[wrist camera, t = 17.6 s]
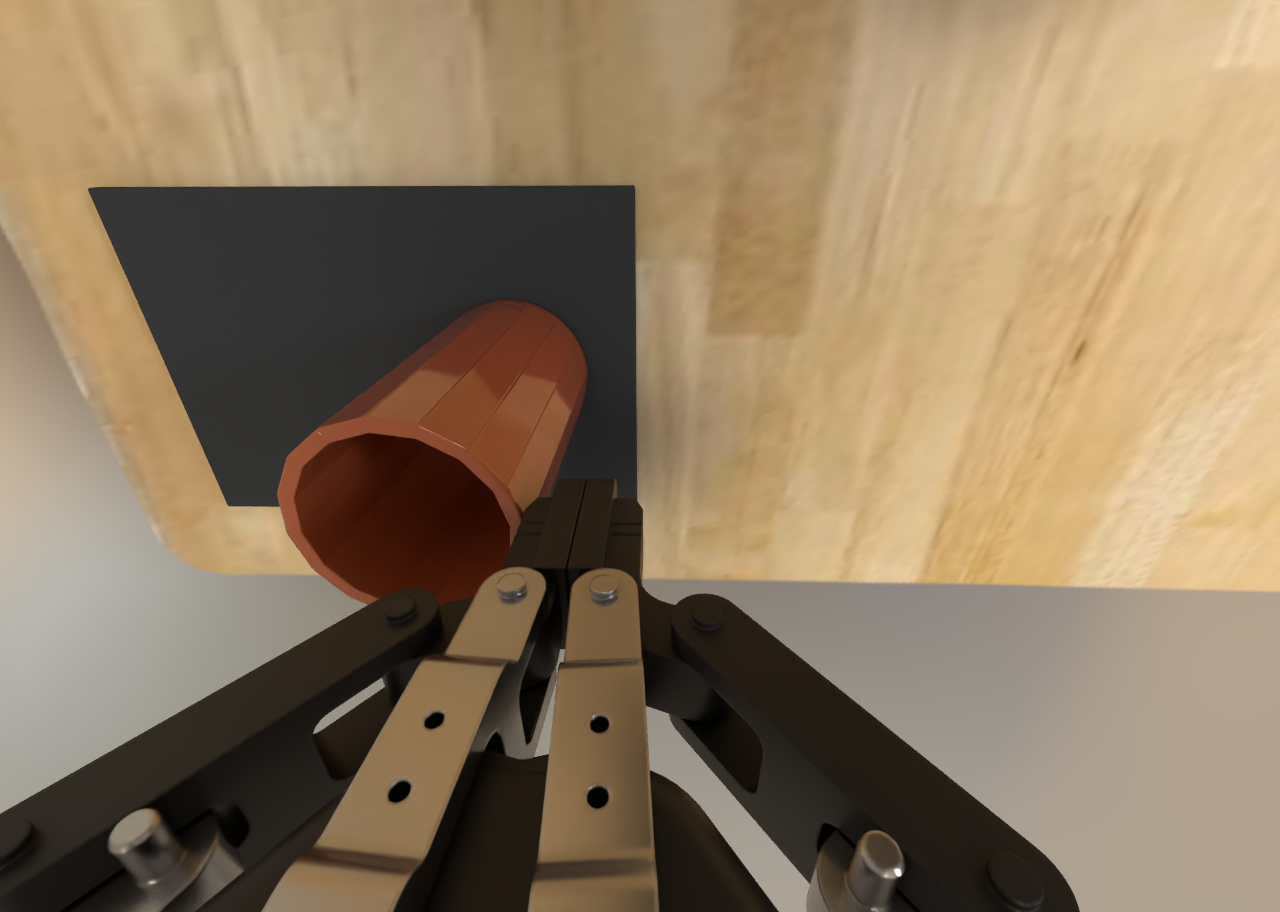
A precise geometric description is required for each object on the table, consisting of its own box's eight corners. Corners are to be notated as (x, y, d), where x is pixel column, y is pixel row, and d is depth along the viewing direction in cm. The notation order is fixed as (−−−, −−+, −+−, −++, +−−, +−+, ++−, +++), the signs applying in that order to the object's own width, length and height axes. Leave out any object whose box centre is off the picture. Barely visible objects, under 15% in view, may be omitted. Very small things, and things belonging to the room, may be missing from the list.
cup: (517, 267, 21) (383, 366, 11) (616, 384, 23) (576, 552, 13) (416, 358, 23) (229, 508, 13) (516, 458, 25) (417, 649, 15)
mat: (634, 185, 20) (634, 186, 20) (637, 502, 27) (636, 509, 26) (100, 187, 20) (85, 187, 20) (235, 499, 27) (227, 506, 27)
